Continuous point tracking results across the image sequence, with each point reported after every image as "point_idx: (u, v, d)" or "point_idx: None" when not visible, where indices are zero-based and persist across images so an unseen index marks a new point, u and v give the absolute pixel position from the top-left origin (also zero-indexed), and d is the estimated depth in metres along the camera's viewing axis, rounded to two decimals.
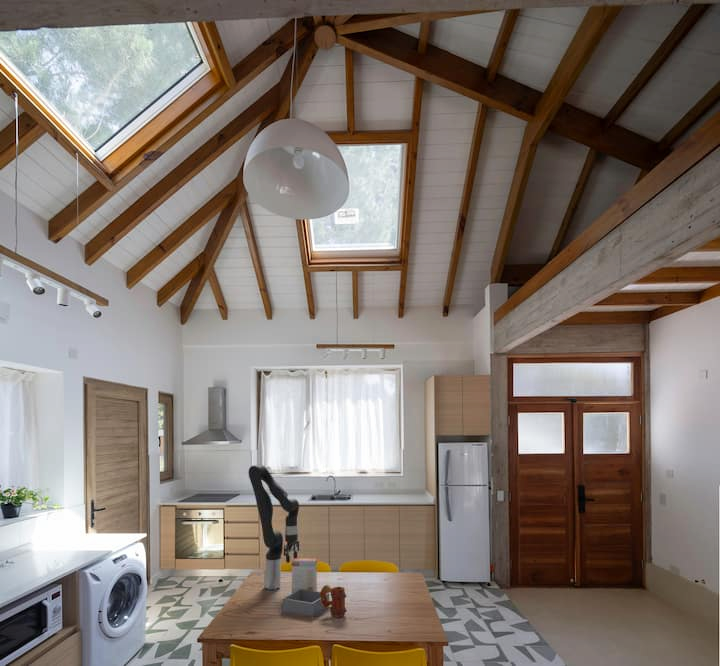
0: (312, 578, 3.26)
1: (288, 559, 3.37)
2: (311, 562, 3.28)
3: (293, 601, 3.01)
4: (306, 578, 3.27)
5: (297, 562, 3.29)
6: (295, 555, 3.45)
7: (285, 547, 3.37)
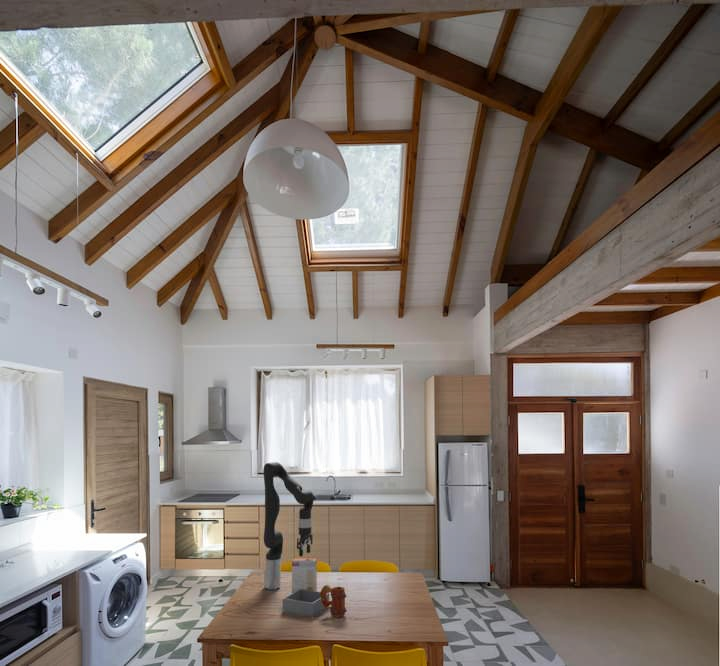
0: (312, 578, 3.26)
1: (301, 553, 3.27)
2: (311, 562, 3.28)
3: (293, 601, 3.01)
4: (306, 578, 3.27)
5: (297, 562, 3.29)
6: (308, 549, 3.35)
7: (298, 540, 3.27)
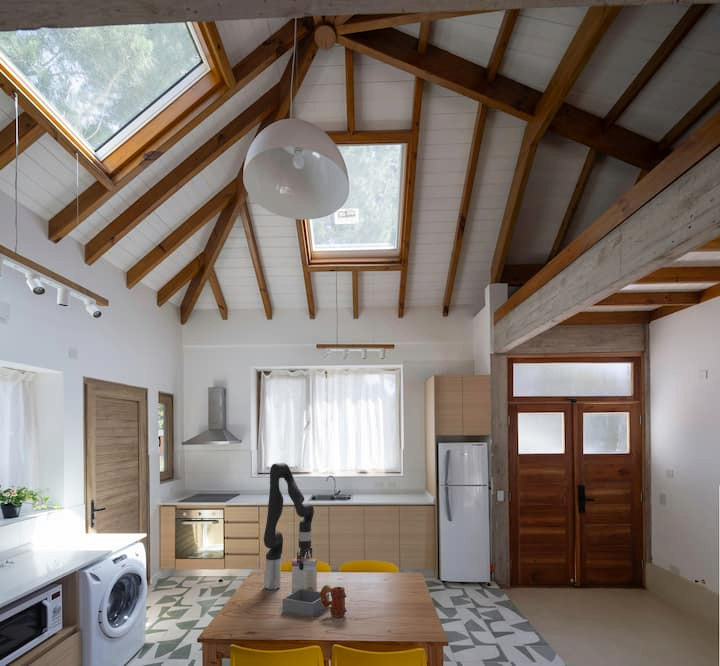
0: (312, 578, 3.26)
1: (301, 566, 3.26)
2: (311, 562, 3.28)
3: (293, 601, 3.01)
4: (306, 578, 3.27)
5: None
6: None
7: (298, 554, 3.26)
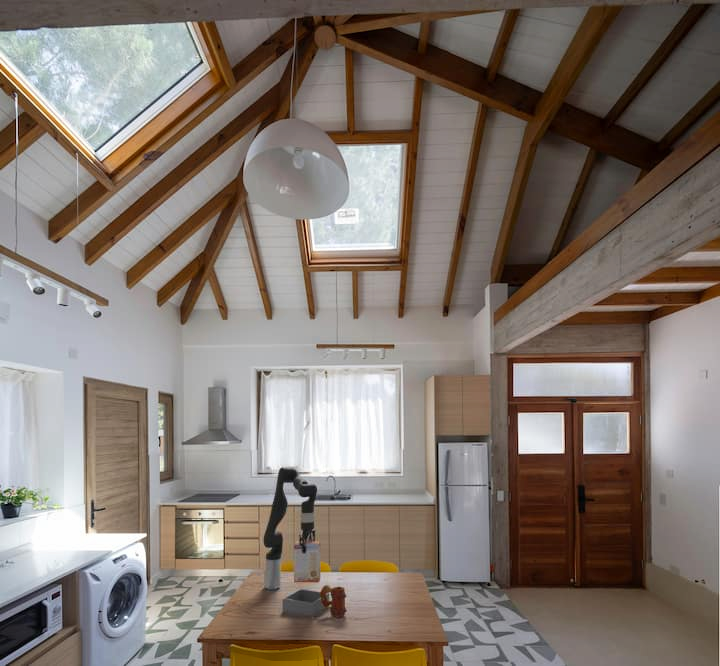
0: (315, 561, 3.08)
1: (304, 549, 3.08)
2: (314, 545, 3.10)
3: (293, 601, 3.01)
4: (309, 561, 3.08)
5: (299, 545, 3.10)
6: None
7: (301, 536, 3.07)
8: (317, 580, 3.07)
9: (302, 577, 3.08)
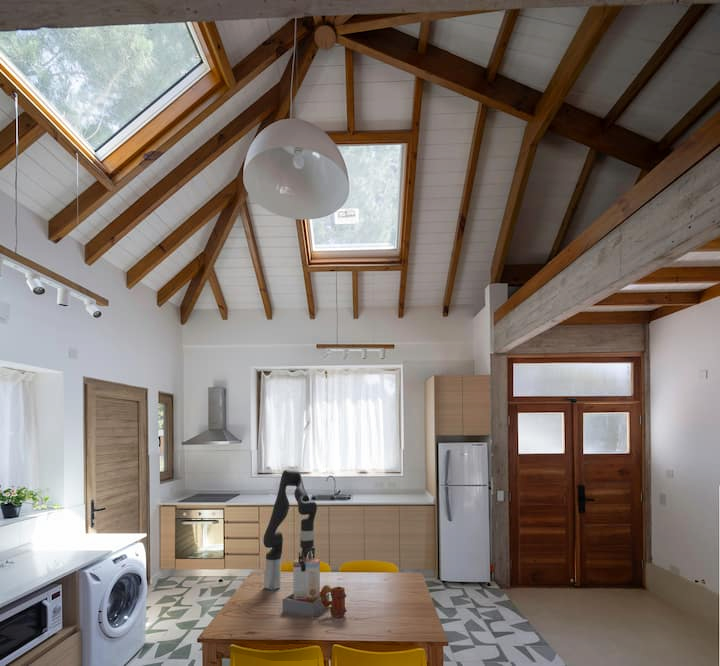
0: (314, 580, 3.06)
1: (303, 567, 3.06)
2: (314, 563, 3.07)
3: (293, 601, 3.01)
4: (309, 580, 3.06)
5: None
6: None
7: (300, 555, 3.05)
8: (316, 599, 3.05)
9: (301, 595, 3.05)
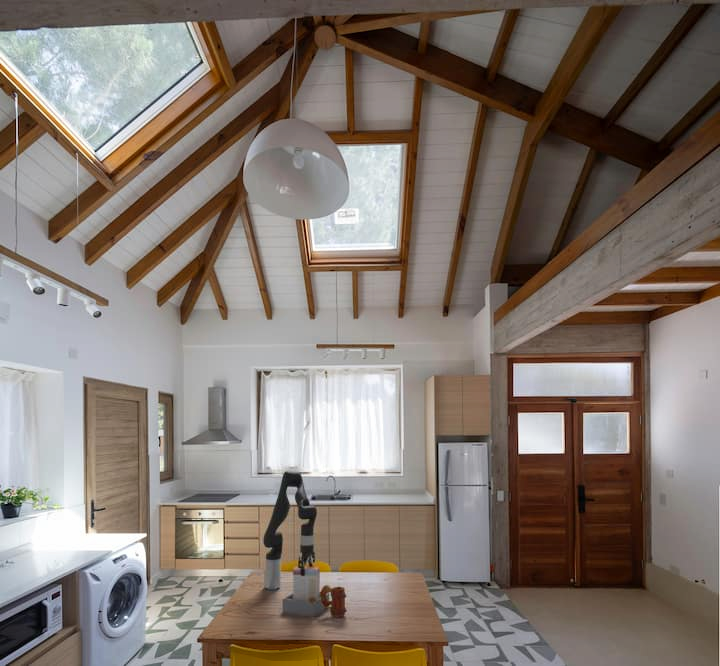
0: (314, 588, 3.05)
1: (303, 572, 3.05)
2: (313, 571, 3.07)
3: (293, 601, 3.01)
4: (308, 587, 3.06)
5: (298, 570, 3.08)
6: None
7: (300, 559, 3.05)
8: None
9: None
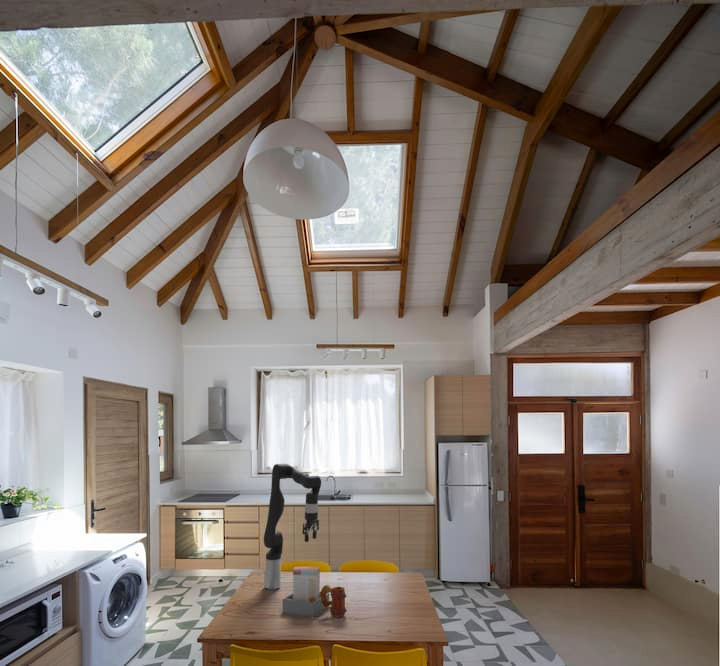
0: (314, 588, 3.05)
1: (307, 538, 3.19)
2: (313, 571, 3.07)
3: (293, 601, 3.01)
4: (308, 587, 3.06)
5: (298, 570, 3.08)
6: (314, 534, 3.27)
7: (304, 525, 3.18)
8: None
9: None
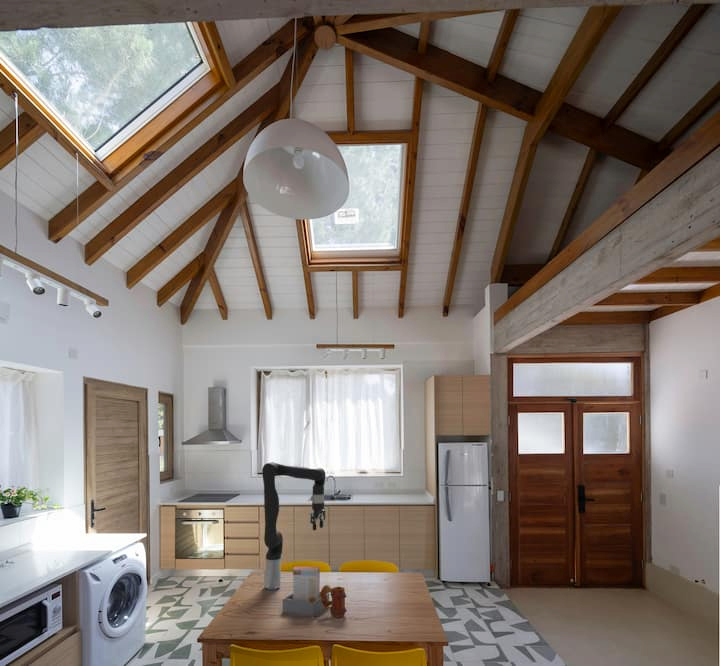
0: (314, 588, 3.05)
1: (315, 527, 3.39)
2: (313, 571, 3.07)
3: (293, 601, 3.01)
4: (308, 587, 3.06)
5: (298, 570, 3.08)
6: (321, 524, 3.47)
7: (312, 515, 3.38)
8: None
9: None
